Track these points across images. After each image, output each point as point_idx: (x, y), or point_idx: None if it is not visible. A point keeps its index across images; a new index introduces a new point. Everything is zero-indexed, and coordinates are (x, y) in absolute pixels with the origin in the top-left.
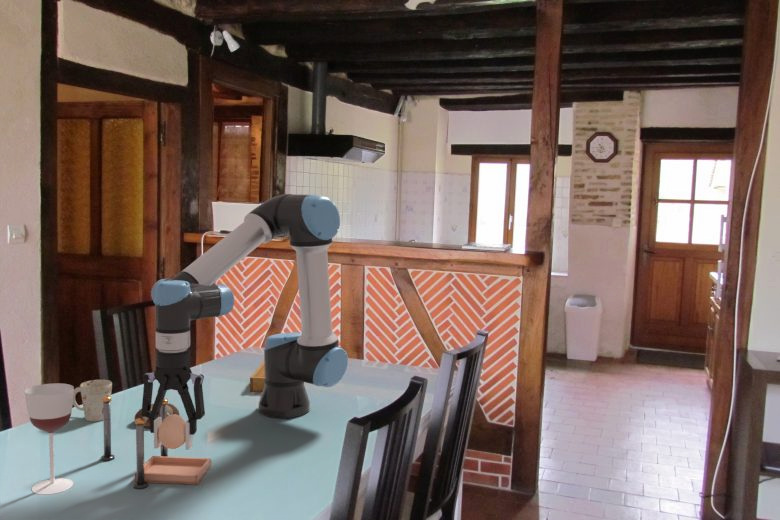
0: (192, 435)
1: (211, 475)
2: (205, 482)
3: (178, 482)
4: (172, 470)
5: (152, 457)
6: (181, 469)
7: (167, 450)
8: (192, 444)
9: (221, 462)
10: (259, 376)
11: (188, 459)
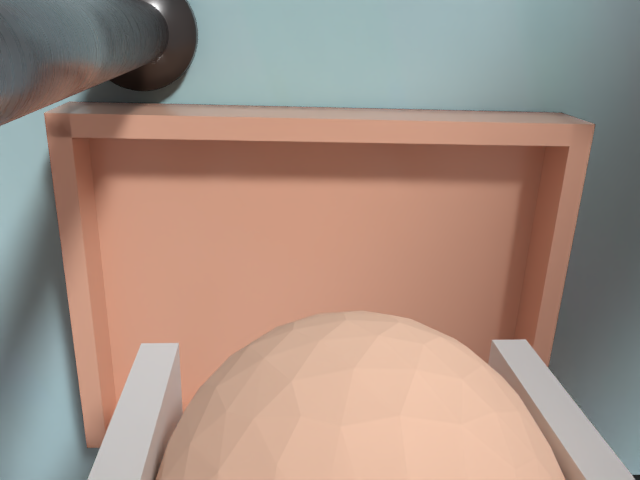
0: (578, 411)
1: (581, 262)
2: (556, 363)
3: None
4: (300, 260)
5: (63, 151)
6: (361, 236)
7: (153, 33)
8: (530, 349)
9: (635, 16)
10: None
11: (396, 140)
